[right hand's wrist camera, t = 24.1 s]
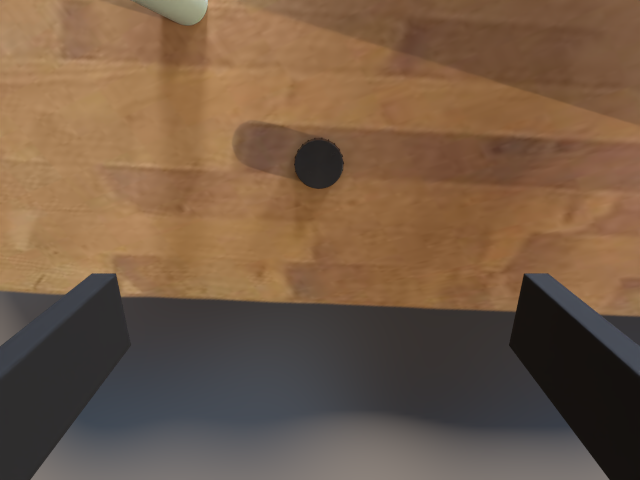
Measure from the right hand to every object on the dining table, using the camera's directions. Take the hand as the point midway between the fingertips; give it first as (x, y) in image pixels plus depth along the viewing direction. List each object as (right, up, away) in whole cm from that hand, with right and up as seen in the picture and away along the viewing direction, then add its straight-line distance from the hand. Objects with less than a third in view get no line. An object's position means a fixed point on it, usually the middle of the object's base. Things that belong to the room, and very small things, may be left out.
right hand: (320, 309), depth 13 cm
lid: (0, +10, +26) cm, 28 cm away
